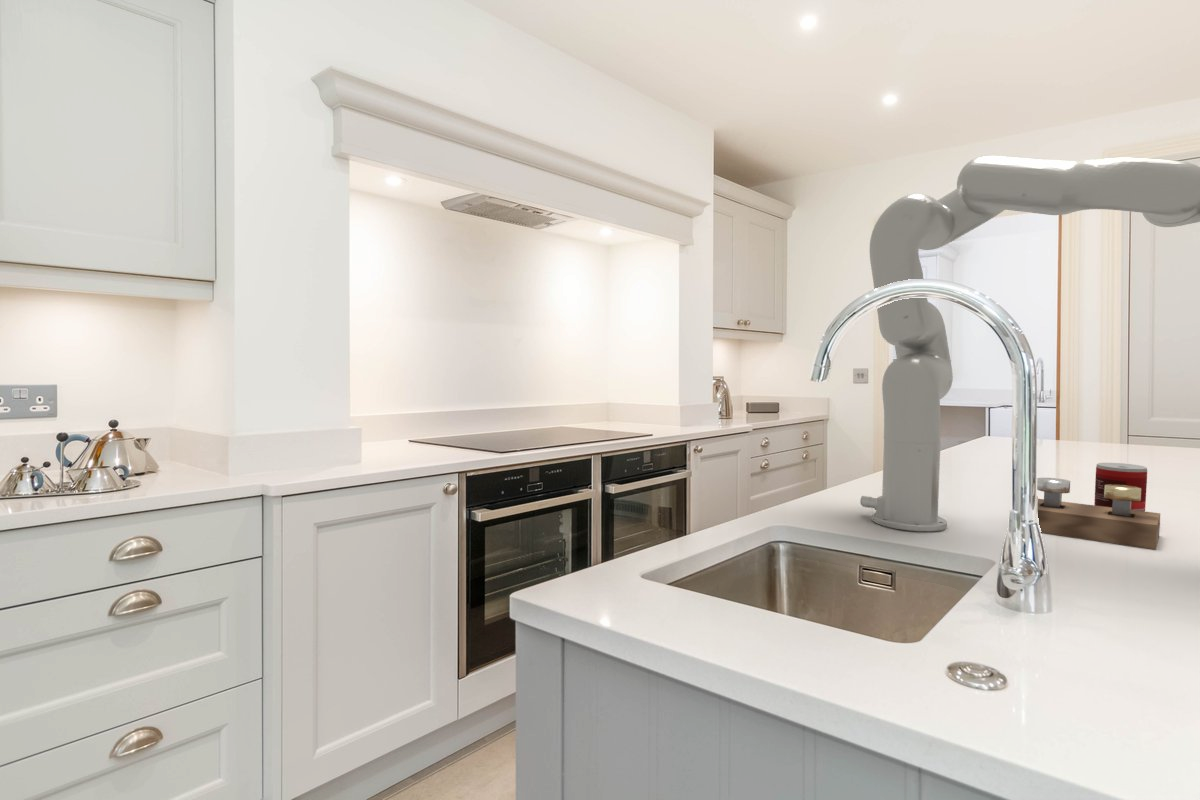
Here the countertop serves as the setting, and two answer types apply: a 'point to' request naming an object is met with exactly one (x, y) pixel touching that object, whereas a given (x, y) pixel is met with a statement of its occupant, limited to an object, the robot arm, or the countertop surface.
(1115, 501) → the brass button
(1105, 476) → the canned food
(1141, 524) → the button block
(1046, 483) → the steel button
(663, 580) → the countertop surface
